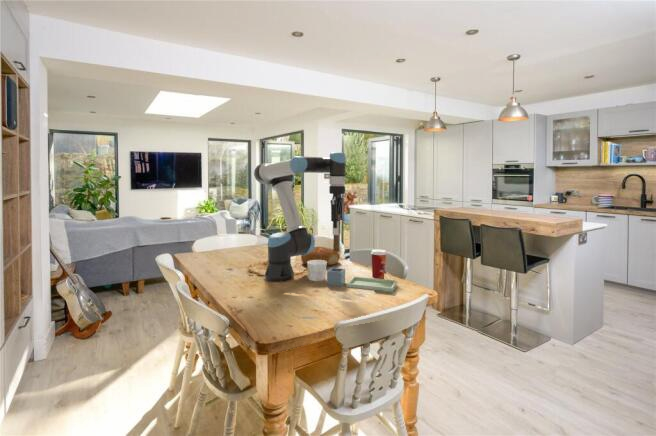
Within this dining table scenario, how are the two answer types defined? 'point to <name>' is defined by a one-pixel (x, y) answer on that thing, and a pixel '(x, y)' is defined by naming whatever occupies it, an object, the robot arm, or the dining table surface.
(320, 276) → the cup
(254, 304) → the dining table surface
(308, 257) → the bread
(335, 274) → the pot
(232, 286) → the dining table surface
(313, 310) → the dining table surface
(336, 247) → the dowel
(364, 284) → the tray
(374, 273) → the coffee cup
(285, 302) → the dining table surface
